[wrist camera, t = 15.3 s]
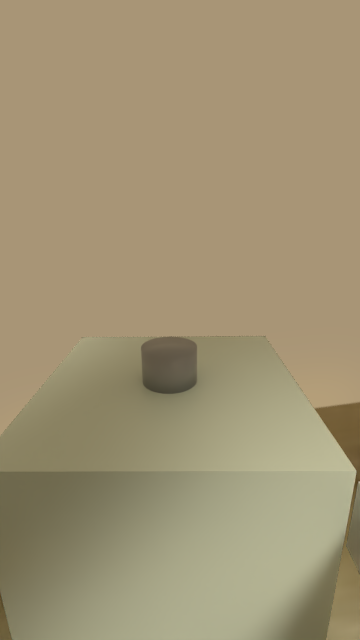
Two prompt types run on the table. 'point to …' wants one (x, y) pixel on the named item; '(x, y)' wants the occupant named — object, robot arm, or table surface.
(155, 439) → the cover
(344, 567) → the table surface
